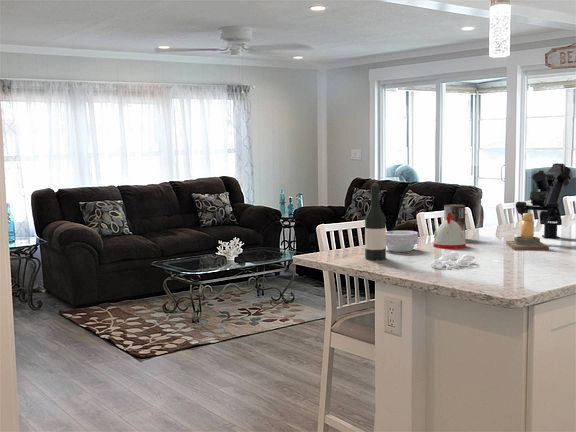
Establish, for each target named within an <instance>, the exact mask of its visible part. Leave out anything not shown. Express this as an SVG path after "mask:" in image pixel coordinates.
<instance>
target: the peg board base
mask: <svg viewBox="0 0 576 432" xmlns="http://www.w3.org/2000/svg"><path fill="white" fill-rule="evenodd" d="M505 241H506V242H505V243H506V244H505V245H506V246H508V247H509V248H511V249H512V250H514V251H550V250H549V249H550V246H549V245H547V244H545V243H543V242H541V238H540V237H538V236H534V239H521V235H519V236H515V237H514V239H513V240H505Z"/></svg>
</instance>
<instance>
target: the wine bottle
mask: <svg viewBox="0 0 576 432" xmlns="http://www.w3.org/2000/svg"><path fill="white" fill-rule="evenodd" d="M386 220H387V217H386V216H385V214H384V212H383V211H382V209H381V206H380V185H379V183H371V185H370V207H369V210H368V211H367V213H366V215H365V217H364V249H365V250H364V253H365V254H364V255H365V257H364V259H366V260H368V261H383V259H384V260H386V259H387V258H386V257H387V256H386V255H387V254H386V253H387V251H386V250H387V249H386V247H387V246H386V232H387V231H386V230H387V229H386V228H387V225H386V224H387V223H386V222H387V221H386Z"/></svg>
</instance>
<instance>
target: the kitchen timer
mask: <svg viewBox="0 0 576 432" xmlns="http://www.w3.org/2000/svg"><path fill="white" fill-rule="evenodd" d="M432 243H433V245H432V246H433V248H438V249H442V250H443V249H445V250H447V249H448V250H456V249H457V250H459V249H464V248H466V247H467V246H466V245H467V243H466V233H465V234H464V231H462V229H461V227H460V226H459V225H458V224H457V223H456V222H455V221H453V220H452V215H451V213H448V217H447V220H446V221H444V220H443V222H442V223H441V224H440V225H439V226H438V227H437V229H436V230H434V234H433V242H432Z"/></svg>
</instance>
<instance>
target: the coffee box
mask: <svg viewBox="0 0 576 432" xmlns="http://www.w3.org/2000/svg"><path fill="white" fill-rule="evenodd" d="M443 207H444V208H443V209H444V211H443V213H444V214H443V216H444V217H443V218H444V219H443V222H444V221H446V220H447V217H448V213H451V215H452V220H453V221H455V222H456V223H457V224H458V225H459V226H460V227H461V229H462V231H464V234H465V235H466V206H465V204H443Z"/></svg>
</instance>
